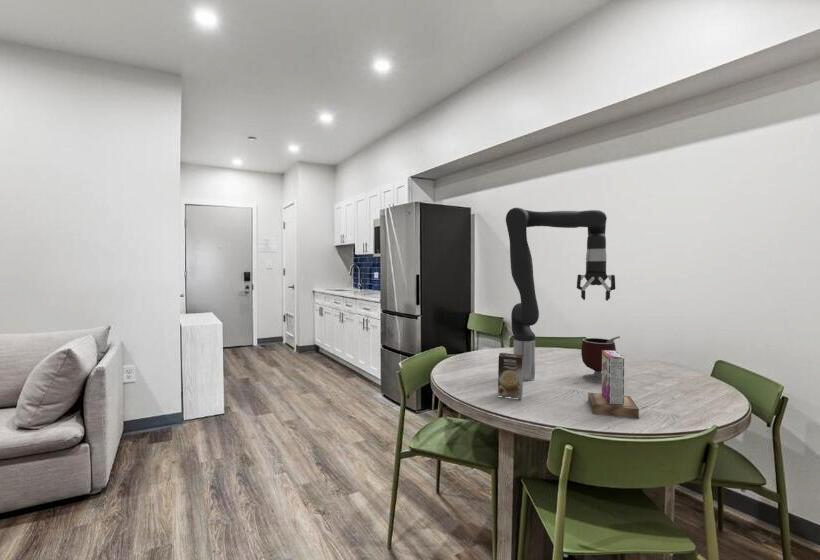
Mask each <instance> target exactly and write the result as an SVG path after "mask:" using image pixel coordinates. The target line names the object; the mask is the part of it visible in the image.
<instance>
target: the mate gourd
mask: <svg viewBox="0 0 820 560" xmlns="http://www.w3.org/2000/svg"><path fill="white" fill-rule="evenodd" d="M620 338H621V337H620V335H619V336H615V337H612V338H610V339H608V338H599V337H587V338H583V339H582V343H581V348H580V349H581V351H580V354H581V359H582V362H583V364H584V365H585V367H586V368H588V369H591V370H593V371H594V372H593V373H587V374H583V376H582V379H583V378H584V379H583V380H585V381H587V380H588V381H587V382H590V383H591V382H592V383H596V384H597V383H598V384H602V350H610V351H616V352H617V349H616V348H617V347H616V343H615V340H616V339H620Z"/></svg>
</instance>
